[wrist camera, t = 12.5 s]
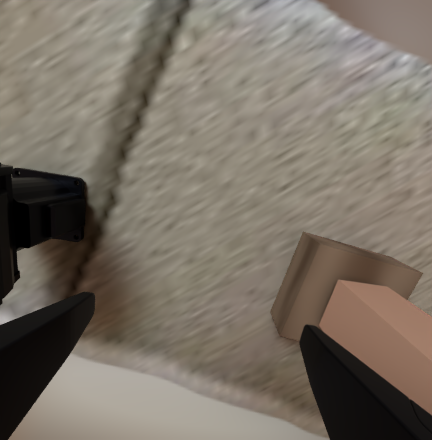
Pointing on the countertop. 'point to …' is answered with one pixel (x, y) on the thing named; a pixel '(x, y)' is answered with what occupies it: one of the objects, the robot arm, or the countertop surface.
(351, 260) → the walnut block
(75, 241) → the robot arm
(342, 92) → the countertop surface
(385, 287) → the column
